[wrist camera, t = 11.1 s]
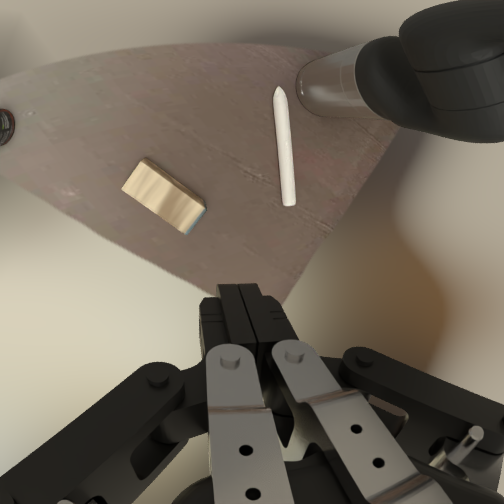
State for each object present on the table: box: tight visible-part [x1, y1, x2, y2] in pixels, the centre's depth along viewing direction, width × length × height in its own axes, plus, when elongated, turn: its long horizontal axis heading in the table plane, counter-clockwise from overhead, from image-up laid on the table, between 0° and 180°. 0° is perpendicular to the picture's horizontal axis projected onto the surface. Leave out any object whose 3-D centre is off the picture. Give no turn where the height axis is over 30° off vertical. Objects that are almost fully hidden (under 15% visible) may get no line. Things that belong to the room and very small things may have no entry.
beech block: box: [122, 158, 207, 235], centre depth 42 cm, size 4×4×11 cm
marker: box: [273, 86, 296, 206], centre depth 44 cm, size 18×2×2 cm, turn 6°
